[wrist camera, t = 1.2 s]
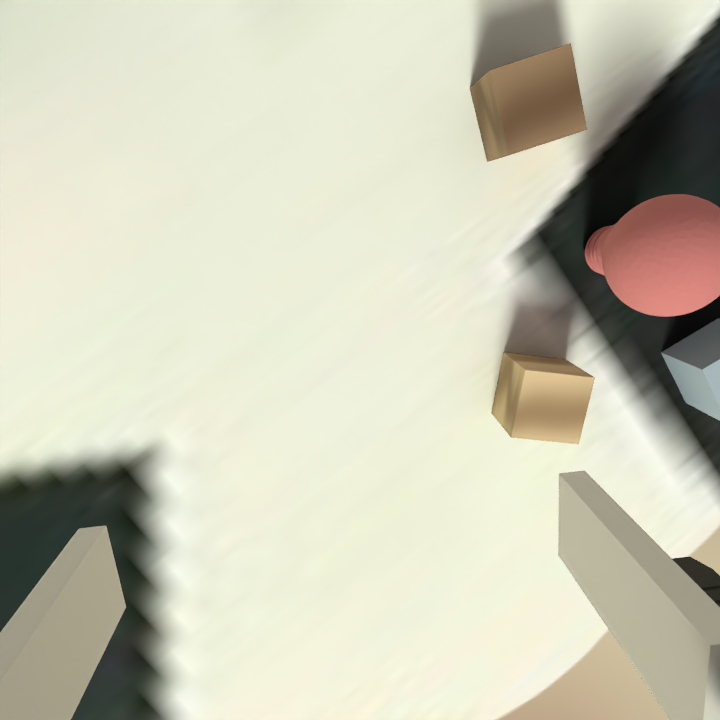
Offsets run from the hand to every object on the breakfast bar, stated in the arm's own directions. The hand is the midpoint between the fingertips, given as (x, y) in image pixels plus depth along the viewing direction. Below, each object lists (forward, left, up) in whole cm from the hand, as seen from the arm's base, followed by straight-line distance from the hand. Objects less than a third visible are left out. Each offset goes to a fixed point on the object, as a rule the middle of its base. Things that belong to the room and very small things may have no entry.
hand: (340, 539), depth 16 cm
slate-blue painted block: (+6, +29, -27) cm, 40 cm away
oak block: (+6, +15, -27) cm, 31 cm away
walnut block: (-14, +15, -27) cm, 34 cm away
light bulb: (-4, +21, -27) cm, 34 cm away
